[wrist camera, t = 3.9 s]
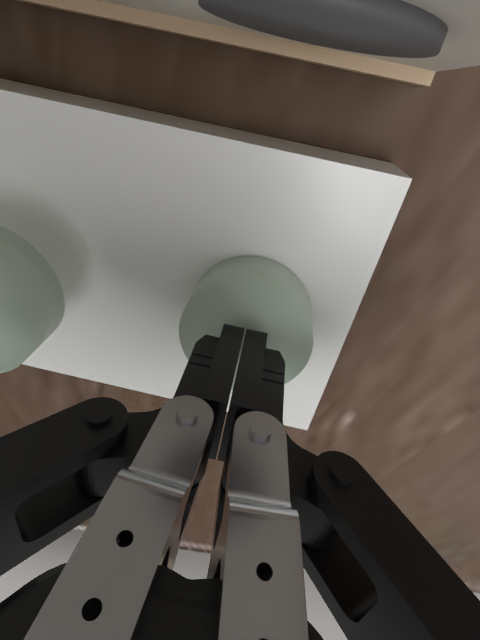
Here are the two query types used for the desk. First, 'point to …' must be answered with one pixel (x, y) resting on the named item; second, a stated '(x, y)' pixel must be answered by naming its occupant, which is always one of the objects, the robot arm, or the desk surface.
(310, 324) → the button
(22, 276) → the button middle
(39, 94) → the button panel
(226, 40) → the pattern card
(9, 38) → the desk surface
